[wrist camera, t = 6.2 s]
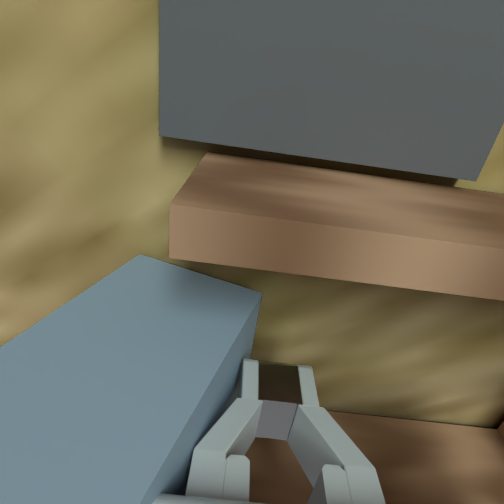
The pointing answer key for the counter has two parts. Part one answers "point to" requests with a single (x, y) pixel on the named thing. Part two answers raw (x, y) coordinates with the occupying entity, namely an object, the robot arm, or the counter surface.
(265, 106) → the pad
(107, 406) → the block
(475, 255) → the frame
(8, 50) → the counter surface
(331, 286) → the counter surface
